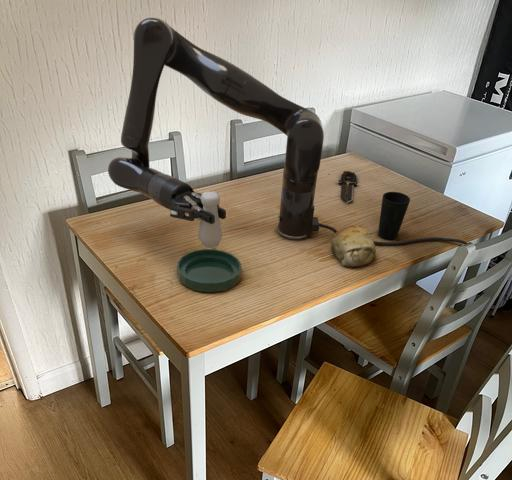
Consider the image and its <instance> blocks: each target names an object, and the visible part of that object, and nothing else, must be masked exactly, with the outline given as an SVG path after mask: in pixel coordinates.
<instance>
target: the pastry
mask: <svg viewBox="0 0 512 480" xmlns="http://www.w3.org/2000/svg"><path fill="white" fill-rule="evenodd" d="M337 231H338V232H336V233H334V234H333V239H332V240H331V241H330V245H331V249H332V251H333V255H334V256H335V257H336V259H337V260H339V262H341V265H342V266H343V267H352V268H353V267H360V266H365V265H369V264H370V263H372V261H373V259H374V257H375V256H376V254H377V249H376V244H374V242H373V241H374V240H373V239H372V238H371V235H370V233H369V231H368V230H366V228H364V226H362V225H349V226H345V227H343V228H341V229H340V230H337Z"/></svg>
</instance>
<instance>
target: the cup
mask: <svg viewBox="0 0 512 480" xmlns="http://www.w3.org/2000/svg"><path fill="white" fill-rule="evenodd" d="M410 202H411V197H410V196H409V195H407V194H405V193H402V192H398V191H387V192H385V193H383V194H382V199H381V206H380V215H379V221H378V222H379V223H378V231H377V236H378V237H379V238H380V239H382V240H385V241H395V240H396V239H397V237H398V235H399V232H400V230H401V227H402V225H403V224H402V223H403V221H404V219H405V216H406V213H407V211H408V209H409V205H410Z"/></svg>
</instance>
